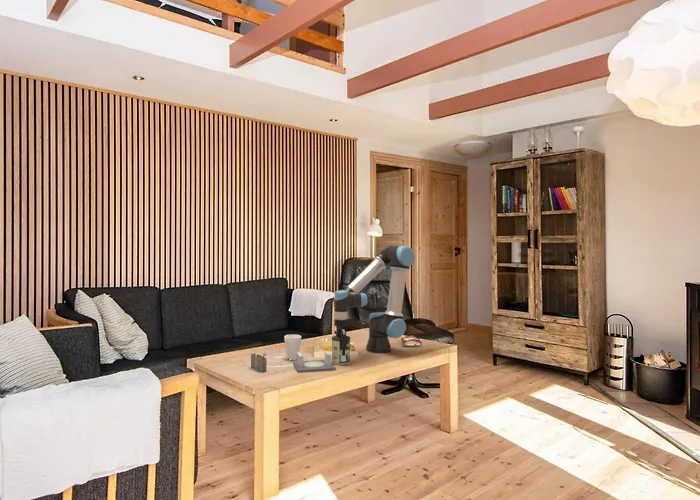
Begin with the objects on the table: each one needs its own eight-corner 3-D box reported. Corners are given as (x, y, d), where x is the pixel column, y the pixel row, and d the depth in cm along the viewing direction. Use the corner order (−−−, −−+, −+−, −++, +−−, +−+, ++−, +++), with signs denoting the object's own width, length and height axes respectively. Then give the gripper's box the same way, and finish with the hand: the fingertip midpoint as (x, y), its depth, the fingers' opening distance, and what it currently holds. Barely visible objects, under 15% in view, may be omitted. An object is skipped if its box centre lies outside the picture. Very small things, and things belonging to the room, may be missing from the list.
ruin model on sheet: (267, 372, 247) (267, 353, 247) (262, 373, 245) (262, 354, 245) (256, 367, 255) (256, 349, 255) (250, 368, 253) (251, 350, 253)
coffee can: (351, 360, 269) (352, 335, 269) (348, 365, 259) (348, 339, 258) (334, 359, 271) (334, 334, 271) (329, 364, 261) (329, 338, 261)
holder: (329, 361, 266) (329, 348, 266) (335, 370, 250) (335, 356, 250) (293, 363, 262) (293, 350, 261) (297, 372, 245) (297, 358, 245)
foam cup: (286, 356, 277) (286, 334, 276) (302, 357, 276) (302, 334, 275) (282, 361, 267) (282, 337, 267) (298, 361, 266) (299, 338, 266)
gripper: (330, 315, 274) (330, 354, 275) (339, 322, 252) (338, 364, 253) (343, 315, 276) (342, 353, 277) (352, 322, 254) (352, 363, 255)
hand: (340, 358), depth 265 cm, fingers closed on coffee can, 10 cm apart
